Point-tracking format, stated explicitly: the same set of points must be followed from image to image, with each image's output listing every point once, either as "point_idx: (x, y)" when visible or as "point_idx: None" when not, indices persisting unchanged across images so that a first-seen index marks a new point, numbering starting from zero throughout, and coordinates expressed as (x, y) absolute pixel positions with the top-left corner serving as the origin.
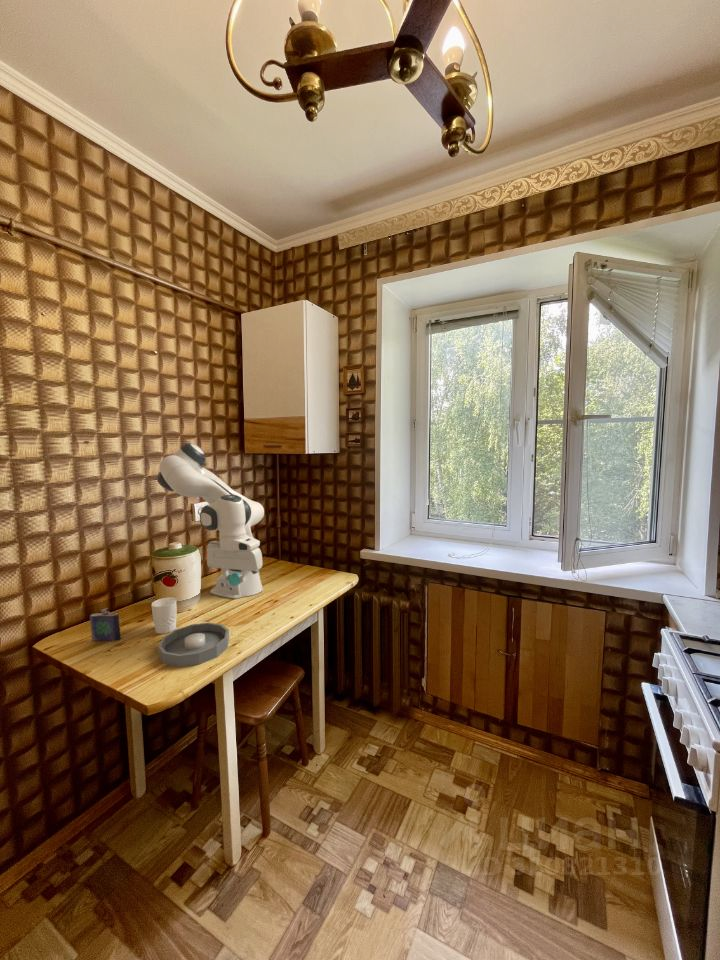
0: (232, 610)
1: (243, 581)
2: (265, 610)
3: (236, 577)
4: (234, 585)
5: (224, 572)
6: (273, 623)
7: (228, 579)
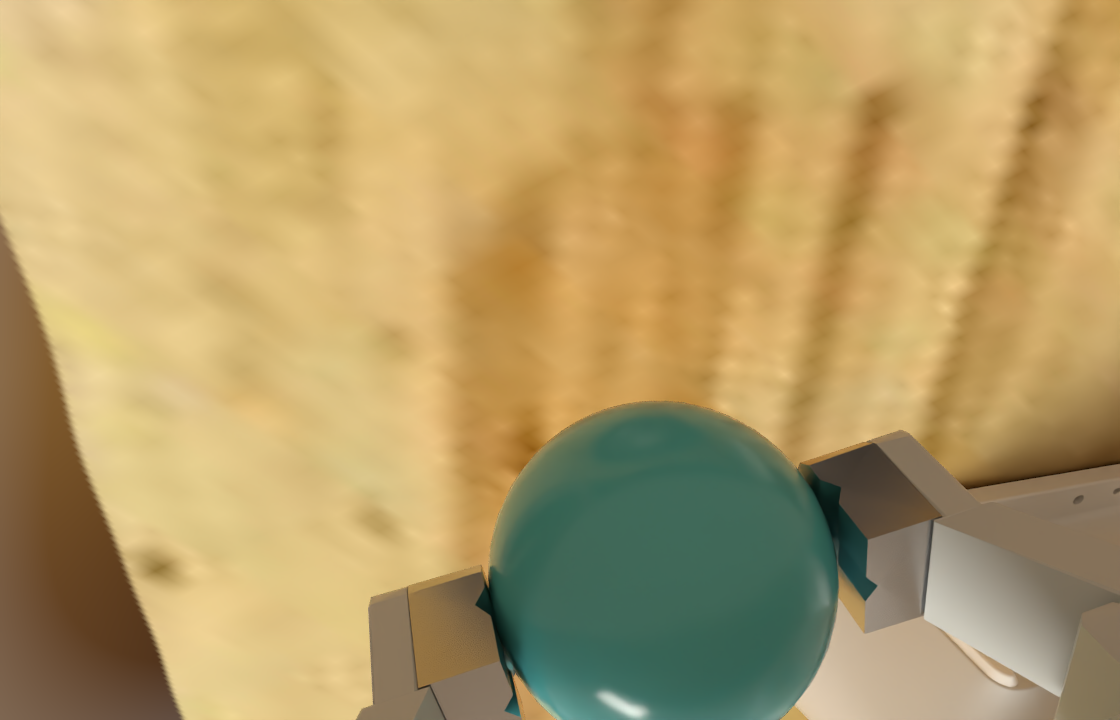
0: (784, 372)
1: (376, 616)
2: None
3: (562, 617)
4: (566, 429)
5: (1053, 586)
6: (207, 409)
7: (788, 470)
